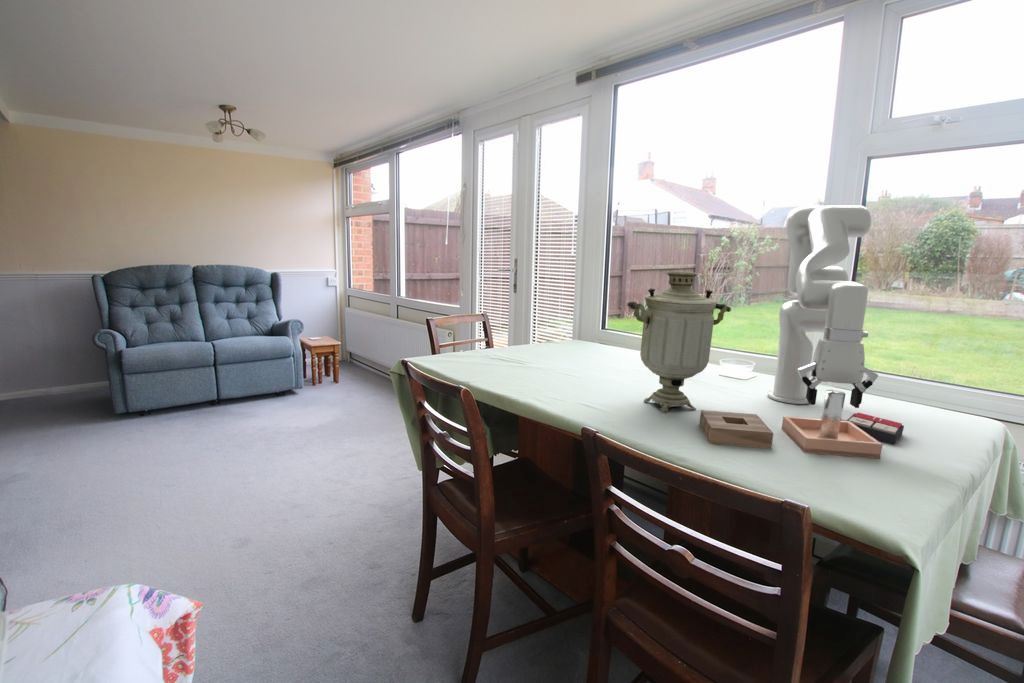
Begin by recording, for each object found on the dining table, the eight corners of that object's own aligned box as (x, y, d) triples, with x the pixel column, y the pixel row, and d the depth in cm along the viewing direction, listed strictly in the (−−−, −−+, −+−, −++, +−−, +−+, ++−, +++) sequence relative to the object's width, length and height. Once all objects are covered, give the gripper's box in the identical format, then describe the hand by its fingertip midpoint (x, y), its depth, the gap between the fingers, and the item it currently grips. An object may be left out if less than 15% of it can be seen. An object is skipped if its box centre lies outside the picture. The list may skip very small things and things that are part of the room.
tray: (781, 428, 133) (783, 416, 132) (847, 434, 130) (849, 421, 130) (804, 452, 118) (806, 438, 117) (880, 458, 115) (882, 444, 114)
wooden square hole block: (699, 424, 135) (700, 410, 135) (754, 428, 133) (756, 414, 132) (709, 443, 122) (711, 427, 121) (771, 448, 119) (773, 432, 119)
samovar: (706, 393, 165) (718, 271, 158) (733, 419, 140) (748, 275, 133) (615, 389, 168) (622, 269, 161) (624, 414, 142) (634, 272, 135)
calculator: (897, 432, 123) (828, 414, 133) (893, 449, 124) (824, 429, 134) (905, 422, 130) (838, 406, 141) (901, 438, 131) (835, 420, 141)
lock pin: (815, 434, 126) (823, 389, 123) (833, 436, 125) (841, 390, 123) (822, 441, 122) (830, 394, 120) (840, 442, 121) (848, 395, 119)
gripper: (874, 335, 121) (864, 403, 124) (797, 331, 124) (788, 397, 127) (891, 340, 114) (880, 412, 117) (808, 336, 117) (799, 406, 120)
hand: (832, 404), depth 122 cm, fingers open, 9 cm apart
